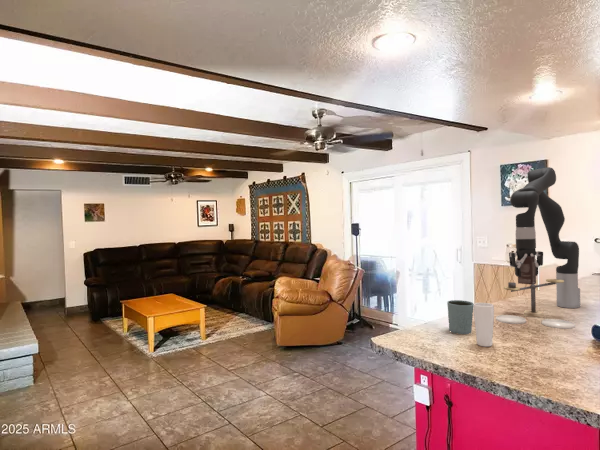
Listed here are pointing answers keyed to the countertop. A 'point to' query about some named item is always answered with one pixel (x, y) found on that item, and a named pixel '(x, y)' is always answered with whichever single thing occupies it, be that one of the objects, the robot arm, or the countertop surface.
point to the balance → (532, 295)
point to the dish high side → (558, 323)
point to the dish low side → (511, 319)
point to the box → (528, 271)
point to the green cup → (460, 316)
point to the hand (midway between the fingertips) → (526, 276)
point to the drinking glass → (484, 323)
